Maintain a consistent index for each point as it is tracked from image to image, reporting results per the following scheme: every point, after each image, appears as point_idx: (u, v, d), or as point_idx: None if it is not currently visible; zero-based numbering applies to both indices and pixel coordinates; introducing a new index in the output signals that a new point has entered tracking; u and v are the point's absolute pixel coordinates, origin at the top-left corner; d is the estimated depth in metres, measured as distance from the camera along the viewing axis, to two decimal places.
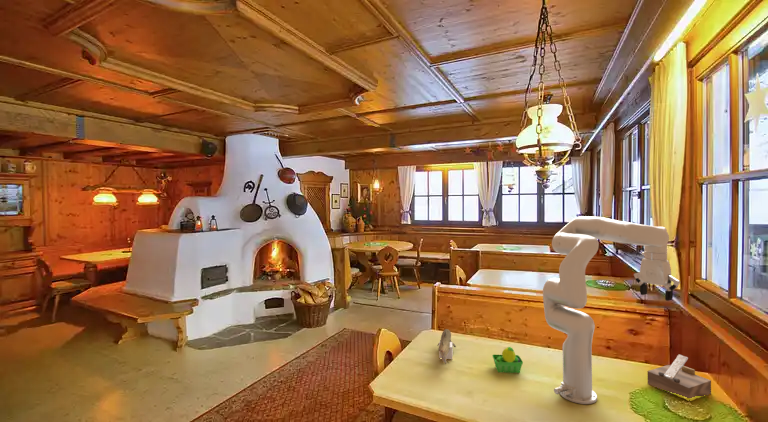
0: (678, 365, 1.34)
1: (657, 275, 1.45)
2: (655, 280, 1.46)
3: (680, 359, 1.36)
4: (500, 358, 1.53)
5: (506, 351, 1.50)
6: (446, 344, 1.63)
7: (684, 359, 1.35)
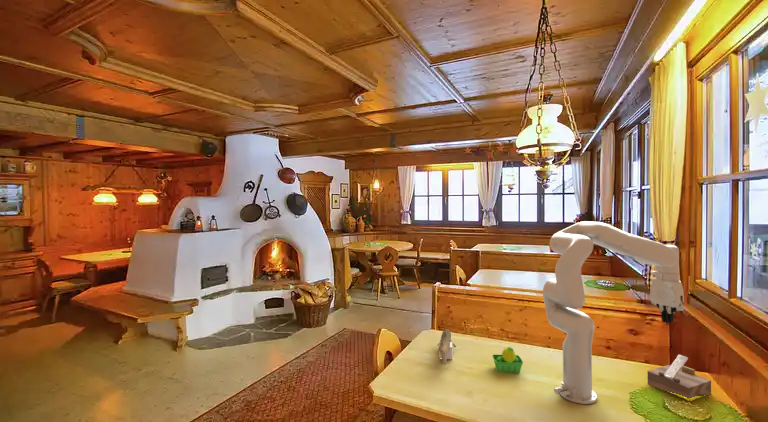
0: (678, 365, 1.34)
1: (669, 296, 1.38)
2: (667, 301, 1.39)
3: (680, 359, 1.36)
4: (500, 358, 1.53)
5: (506, 351, 1.50)
6: (446, 344, 1.63)
7: (684, 359, 1.35)
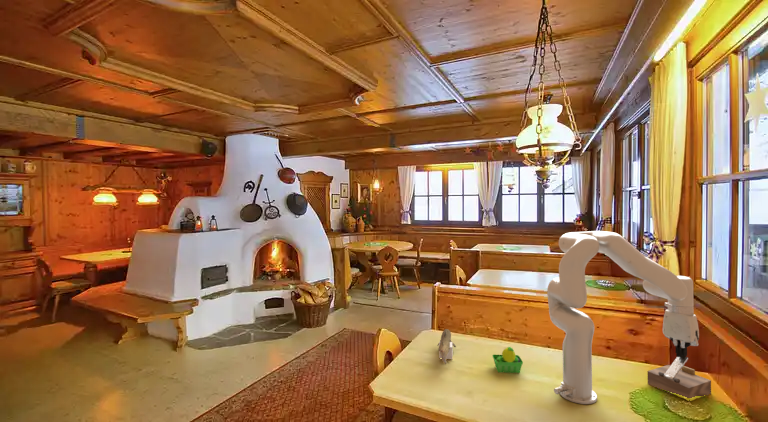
0: (678, 365, 1.34)
1: (683, 331, 1.32)
2: (681, 336, 1.33)
3: (680, 359, 1.36)
4: (500, 358, 1.53)
5: (506, 351, 1.50)
6: (446, 344, 1.63)
7: (684, 359, 1.35)
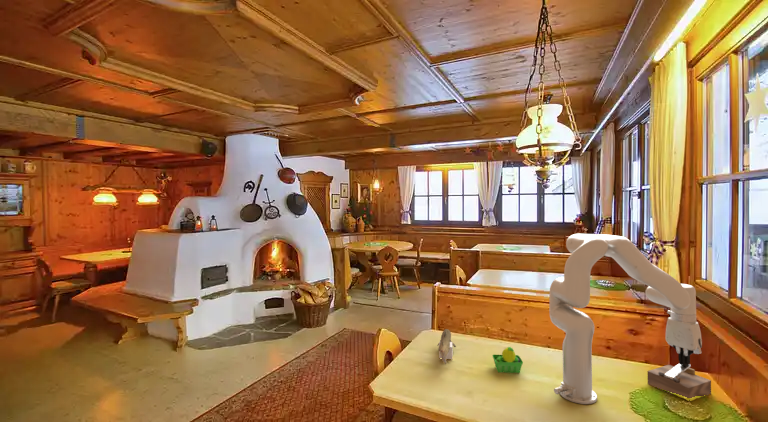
0: (680, 369, 1.35)
1: (686, 339, 1.33)
2: (684, 344, 1.34)
3: (682, 365, 1.36)
4: (500, 358, 1.53)
5: (506, 351, 1.50)
6: (446, 344, 1.63)
7: (687, 366, 1.35)
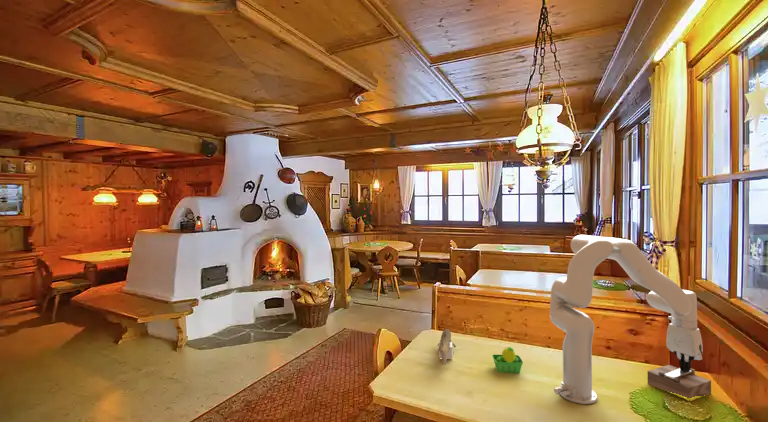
0: (680, 372, 1.35)
1: (687, 345, 1.33)
2: (684, 350, 1.34)
3: None
4: (500, 358, 1.53)
5: (506, 351, 1.50)
6: (446, 344, 1.63)
7: (687, 371, 1.36)
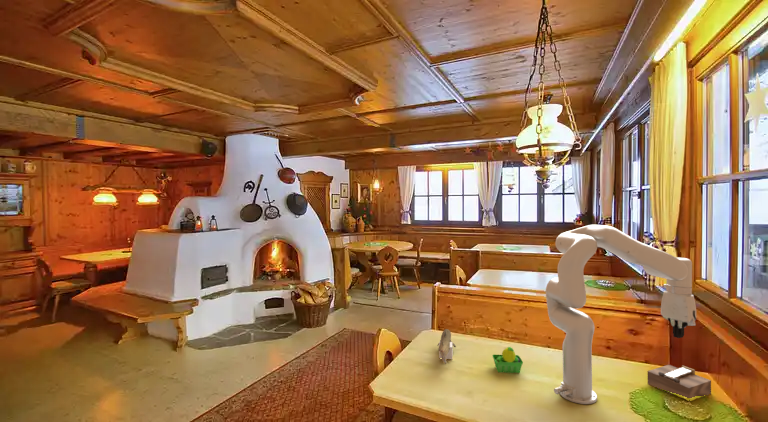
0: (680, 372, 1.35)
1: (680, 311, 1.35)
2: (678, 316, 1.35)
3: (683, 370, 1.36)
4: (500, 358, 1.53)
5: (506, 351, 1.50)
6: (446, 344, 1.63)
7: (687, 371, 1.36)
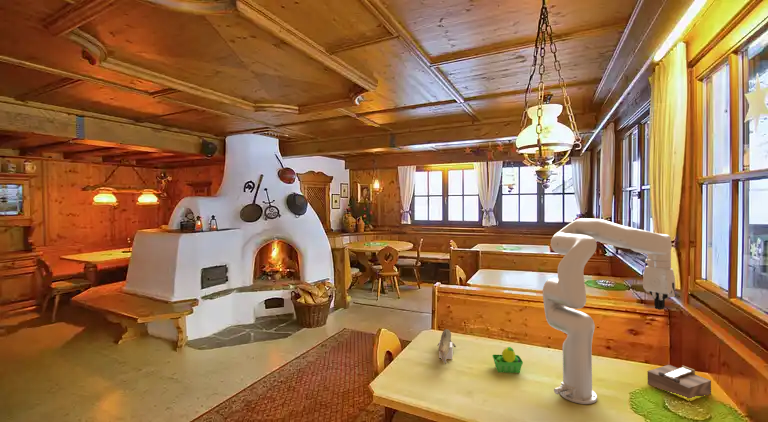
0: (680, 372, 1.35)
1: (661, 283, 1.43)
2: (659, 288, 1.44)
3: (683, 370, 1.36)
4: (500, 358, 1.53)
5: (506, 351, 1.50)
6: (446, 344, 1.63)
7: (687, 371, 1.36)
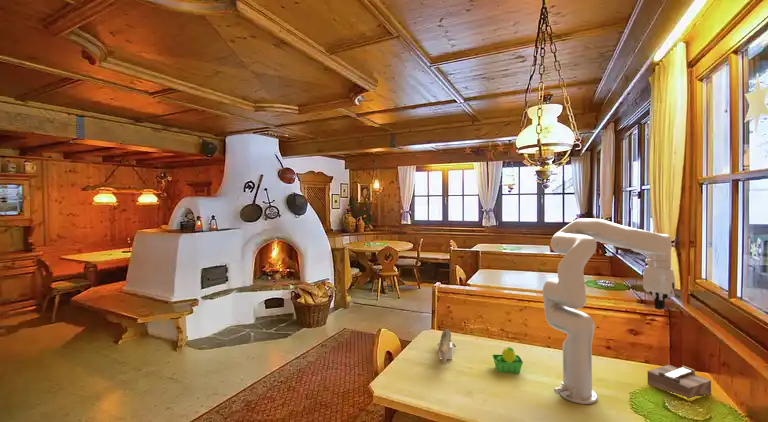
0: (680, 372, 1.35)
1: (661, 283, 1.43)
2: (659, 288, 1.44)
3: (683, 370, 1.36)
4: (500, 358, 1.53)
5: (506, 351, 1.50)
6: (446, 344, 1.63)
7: (687, 371, 1.36)
